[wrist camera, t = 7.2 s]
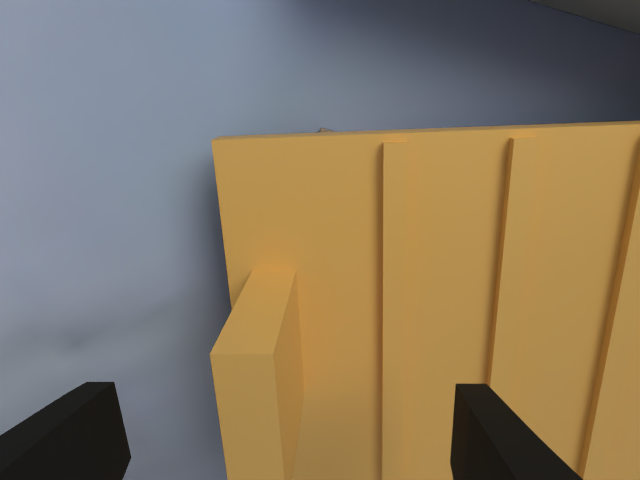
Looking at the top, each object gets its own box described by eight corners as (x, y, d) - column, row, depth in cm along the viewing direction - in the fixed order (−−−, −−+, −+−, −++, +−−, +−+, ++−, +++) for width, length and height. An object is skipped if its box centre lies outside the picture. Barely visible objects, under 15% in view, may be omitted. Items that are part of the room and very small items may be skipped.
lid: (804, 111, 11) (1178, 135, 6) (701, 451, 15) (887, 643, 10) (226, 133, 13) (141, 169, 7) (260, 446, 16) (219, 619, 11)
